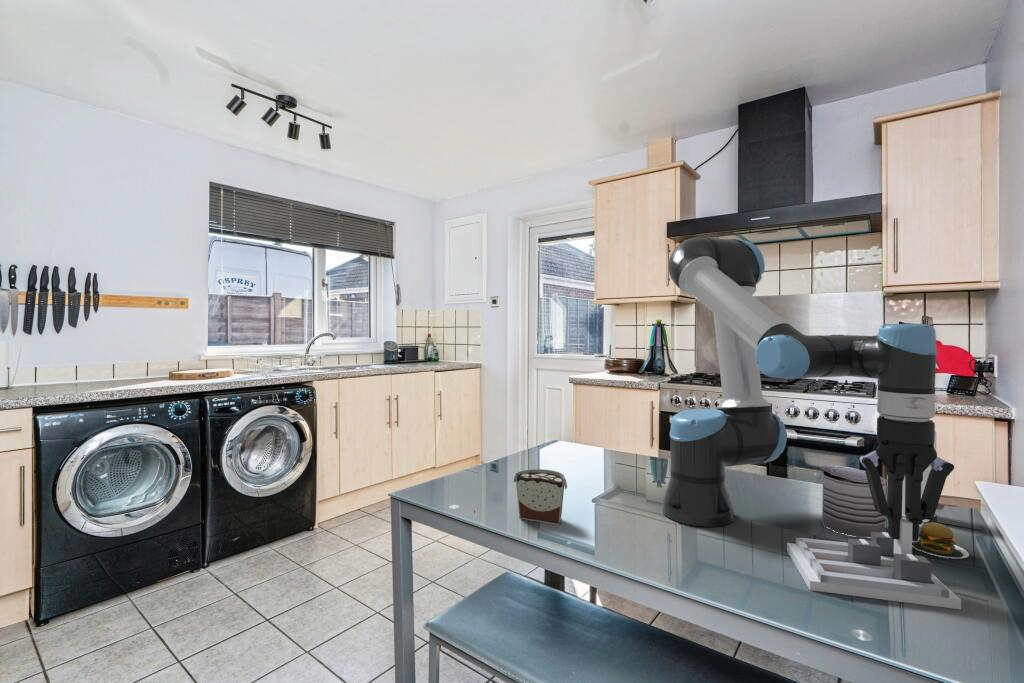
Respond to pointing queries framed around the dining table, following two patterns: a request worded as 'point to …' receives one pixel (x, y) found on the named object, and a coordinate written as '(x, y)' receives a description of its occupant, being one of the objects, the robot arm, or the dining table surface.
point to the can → (850, 502)
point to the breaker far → (884, 543)
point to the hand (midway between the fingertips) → (902, 558)
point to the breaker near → (912, 568)
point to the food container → (540, 495)
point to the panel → (862, 576)
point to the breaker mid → (864, 552)
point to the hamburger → (938, 540)
